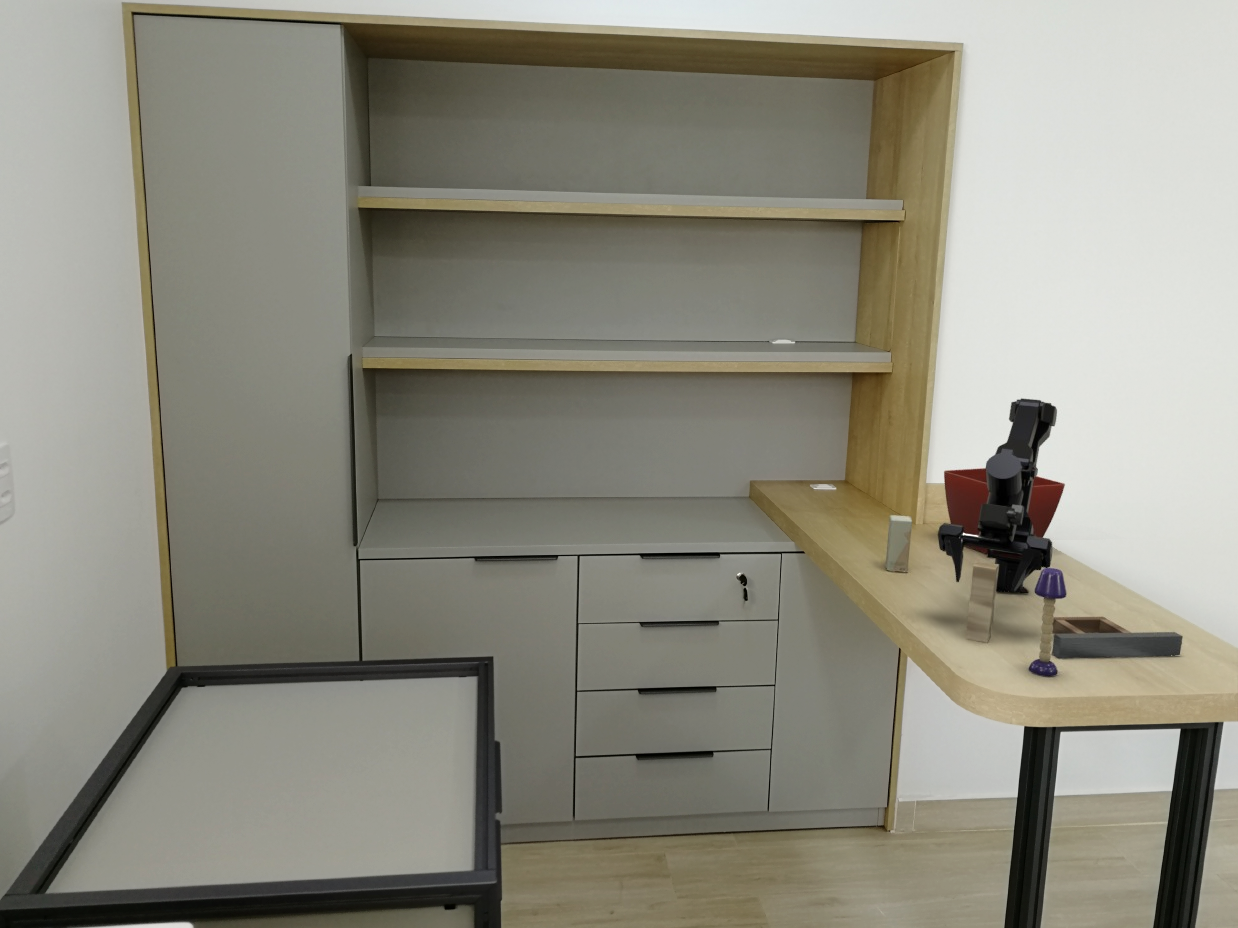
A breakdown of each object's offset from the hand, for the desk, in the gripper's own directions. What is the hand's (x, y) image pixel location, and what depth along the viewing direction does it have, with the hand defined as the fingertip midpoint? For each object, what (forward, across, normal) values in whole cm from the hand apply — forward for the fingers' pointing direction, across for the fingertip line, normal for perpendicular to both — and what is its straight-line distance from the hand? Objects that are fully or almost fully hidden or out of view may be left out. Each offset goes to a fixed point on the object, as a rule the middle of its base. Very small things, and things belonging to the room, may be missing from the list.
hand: (984, 585), depth 177 cm
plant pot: (-39, -7, +51) cm, 65 cm away
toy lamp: (+14, +11, -1) cm, 18 cm away
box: (-17, -22, +29) cm, 41 cm away
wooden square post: (+7, 0, +6) cm, 9 cm away
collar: (0, +17, +13) cm, 22 cm away
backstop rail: (+4, +21, +9) cm, 23 cm away
